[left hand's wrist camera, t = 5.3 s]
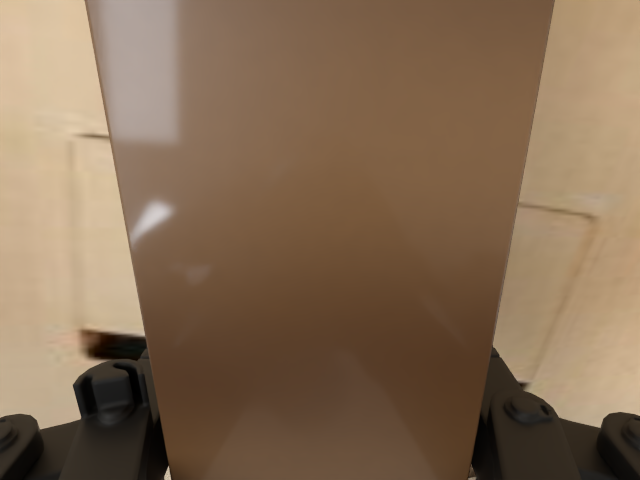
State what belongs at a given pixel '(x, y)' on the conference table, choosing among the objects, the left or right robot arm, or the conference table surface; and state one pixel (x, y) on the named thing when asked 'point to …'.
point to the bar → (319, 221)
